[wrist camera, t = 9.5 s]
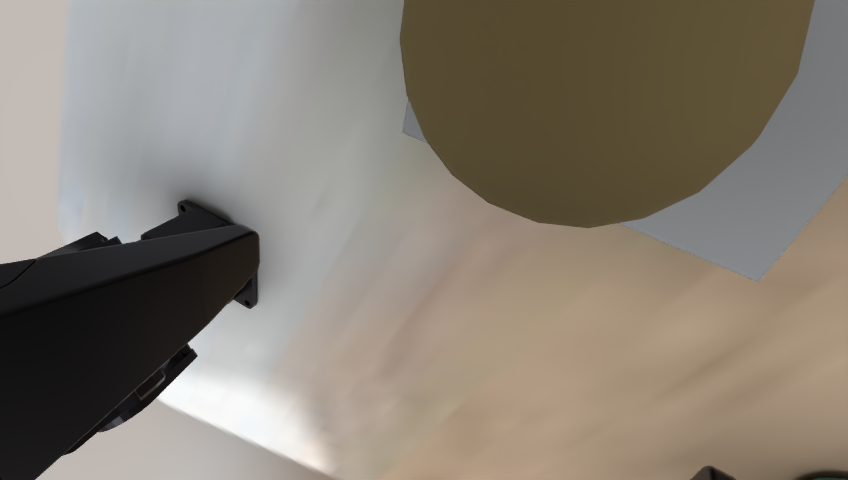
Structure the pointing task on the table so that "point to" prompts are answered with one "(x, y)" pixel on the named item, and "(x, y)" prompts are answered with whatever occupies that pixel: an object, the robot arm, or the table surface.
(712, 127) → the cork
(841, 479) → the teal bottle
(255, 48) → the table surface
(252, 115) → the table surface
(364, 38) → the table surface
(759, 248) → the plinth
